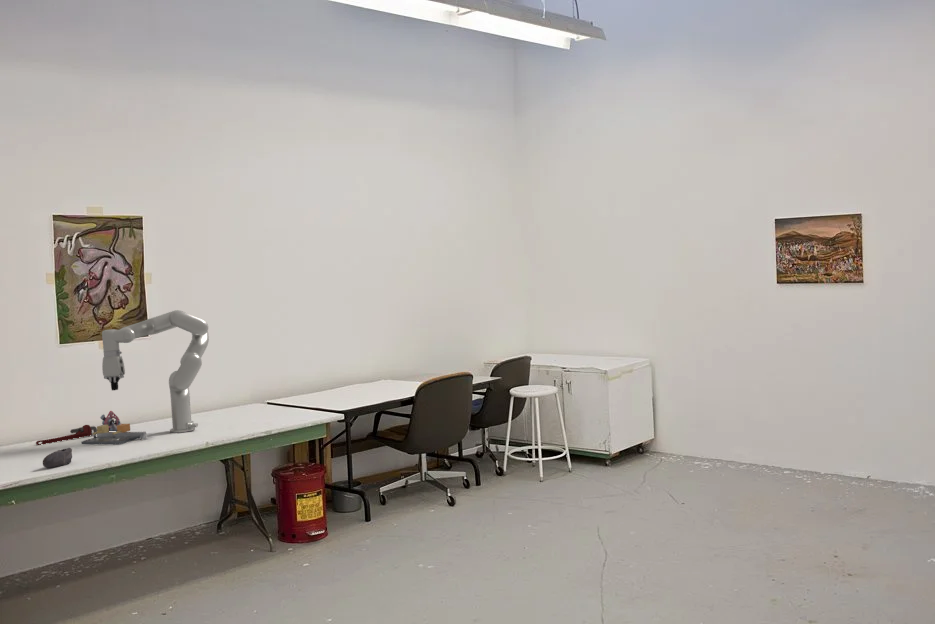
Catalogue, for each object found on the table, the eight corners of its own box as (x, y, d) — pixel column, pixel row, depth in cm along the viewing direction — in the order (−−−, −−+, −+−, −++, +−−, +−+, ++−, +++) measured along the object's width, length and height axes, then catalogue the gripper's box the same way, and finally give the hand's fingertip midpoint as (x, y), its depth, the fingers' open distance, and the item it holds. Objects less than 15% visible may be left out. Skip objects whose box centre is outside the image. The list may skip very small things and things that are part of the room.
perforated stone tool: (47, 470, 371) (45, 454, 371) (39, 469, 374) (37, 454, 373) (77, 462, 385) (76, 447, 384) (69, 462, 387) (68, 446, 387)
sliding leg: (130, 433, 439) (129, 423, 439) (117, 438, 428) (116, 427, 428) (123, 433, 440) (123, 423, 440) (110, 438, 429) (109, 427, 429)
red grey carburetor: (114, 428, 457) (102, 410, 459) (102, 440, 460) (90, 423, 462) (129, 424, 467) (117, 407, 469) (117, 436, 470) (105, 419, 472)
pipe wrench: (35, 446, 434) (96, 435, 455) (37, 447, 432) (98, 435, 453) (34, 433, 434) (95, 422, 454) (36, 434, 432) (97, 423, 452)
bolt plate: (148, 437, 437) (147, 424, 437) (129, 444, 422) (128, 430, 422) (102, 438, 444) (101, 424, 443) (81, 444, 428) (80, 430, 428)
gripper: (129, 352, 438) (132, 388, 439) (103, 353, 442) (106, 389, 443) (120, 354, 431) (123, 390, 432) (94, 355, 434) (97, 391, 435)
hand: (114, 389), depth 437 cm, fingers closed
